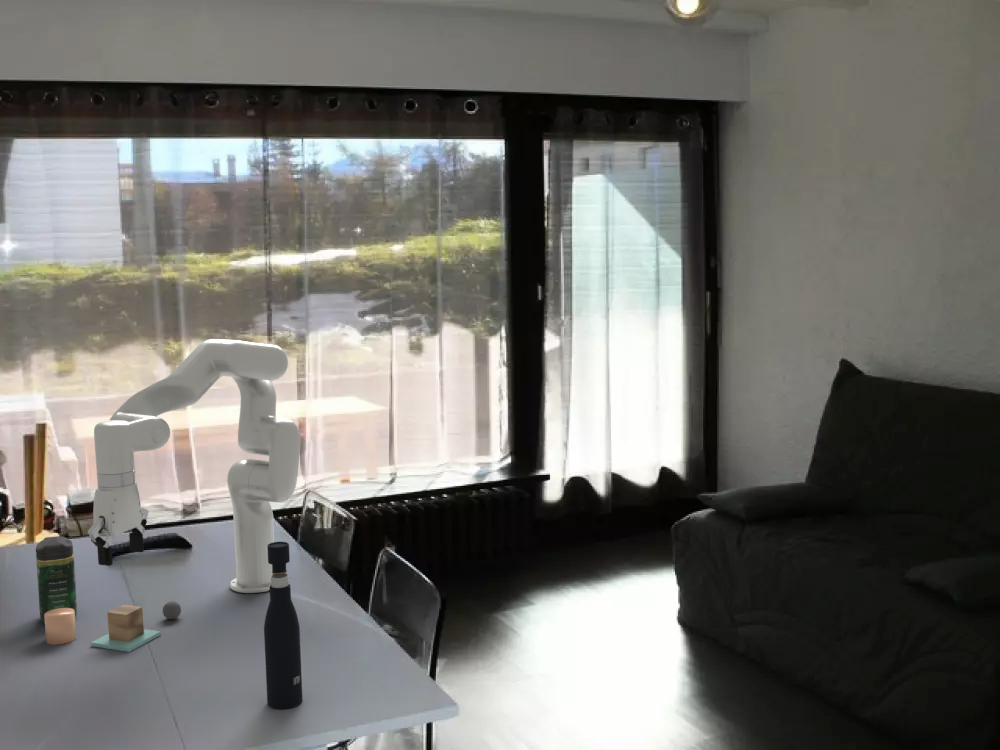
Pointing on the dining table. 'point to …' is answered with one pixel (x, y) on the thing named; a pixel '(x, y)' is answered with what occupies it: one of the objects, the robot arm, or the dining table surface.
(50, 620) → the beige rounded cylinder
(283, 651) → the insulated water bottle
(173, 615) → the rubber ball
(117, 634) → the walnut block
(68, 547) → the coffee jar
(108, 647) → the coaster
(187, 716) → the dining table surface
